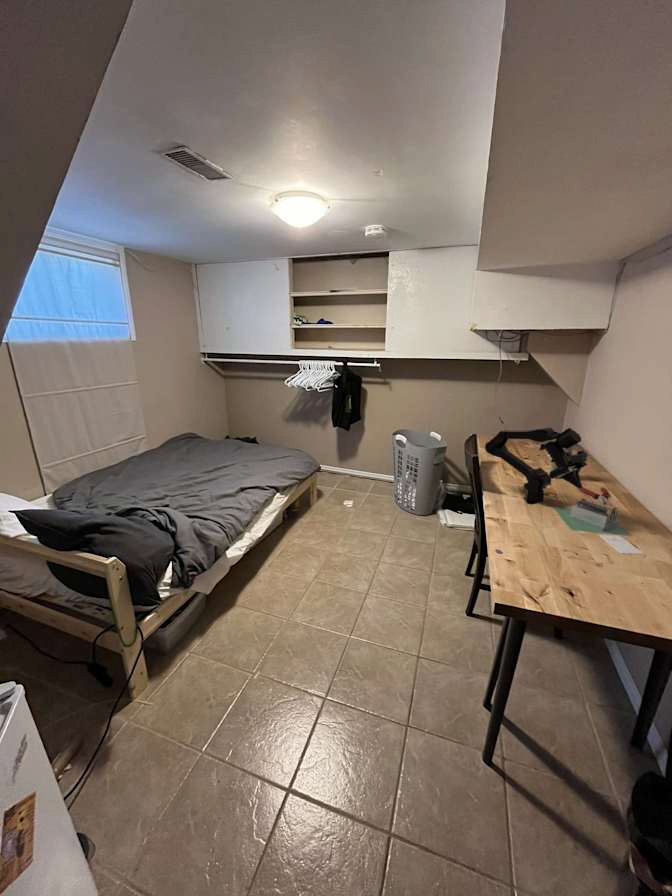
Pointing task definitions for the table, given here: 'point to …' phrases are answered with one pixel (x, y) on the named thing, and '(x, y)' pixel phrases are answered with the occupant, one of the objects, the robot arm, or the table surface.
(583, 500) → the dark metal plate
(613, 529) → the green square mat
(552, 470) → the spray can
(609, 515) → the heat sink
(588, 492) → the pliers
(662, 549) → the table surface
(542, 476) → the robot arm
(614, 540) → the external hard drive
